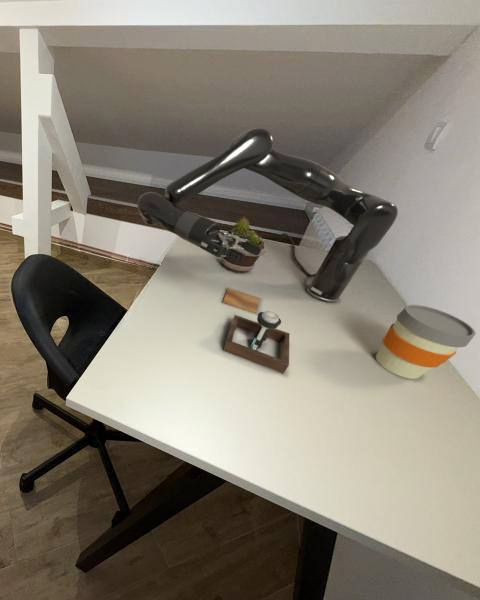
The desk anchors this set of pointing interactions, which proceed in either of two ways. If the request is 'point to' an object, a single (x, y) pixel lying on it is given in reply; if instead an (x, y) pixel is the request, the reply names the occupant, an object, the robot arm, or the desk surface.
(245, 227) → the flowerpot
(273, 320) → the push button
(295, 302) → the desk surface
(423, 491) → the desk surface
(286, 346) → the walnut frame
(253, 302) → the cork mat
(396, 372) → the reusable coffee cup
